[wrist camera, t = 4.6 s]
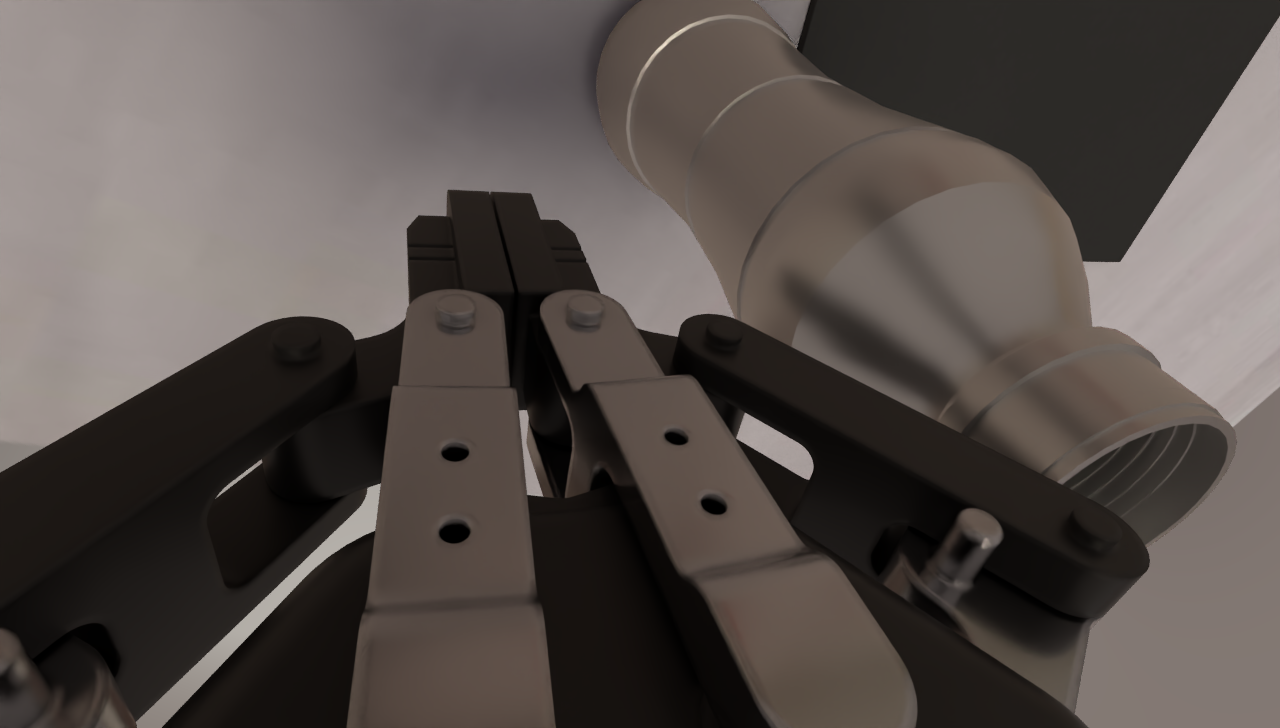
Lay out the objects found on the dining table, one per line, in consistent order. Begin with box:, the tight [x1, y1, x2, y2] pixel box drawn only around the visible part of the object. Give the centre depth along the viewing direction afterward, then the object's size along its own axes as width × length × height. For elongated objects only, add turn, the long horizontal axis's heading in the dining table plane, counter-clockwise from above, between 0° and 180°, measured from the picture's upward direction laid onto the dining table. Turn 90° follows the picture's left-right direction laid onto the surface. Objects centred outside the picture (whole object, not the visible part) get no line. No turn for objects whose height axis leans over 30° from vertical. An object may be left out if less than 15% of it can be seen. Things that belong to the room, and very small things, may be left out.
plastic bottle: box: [596, 0, 1237, 548], centre depth 17 cm, size 6×7×20 cm
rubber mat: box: [798, 0, 1280, 262], centre depth 29 cm, size 14×22×1 cm, turn 81°
